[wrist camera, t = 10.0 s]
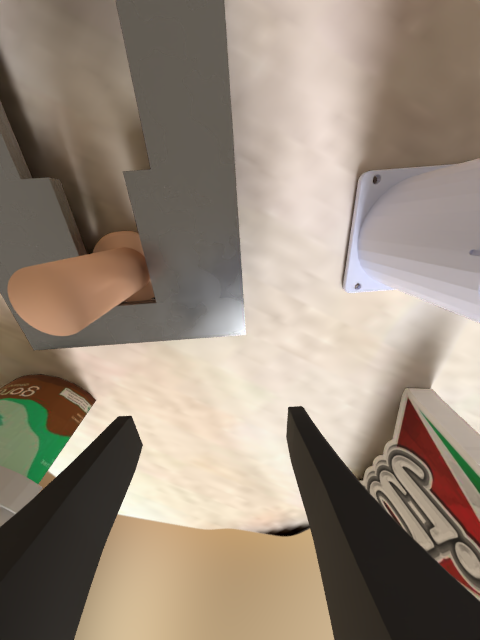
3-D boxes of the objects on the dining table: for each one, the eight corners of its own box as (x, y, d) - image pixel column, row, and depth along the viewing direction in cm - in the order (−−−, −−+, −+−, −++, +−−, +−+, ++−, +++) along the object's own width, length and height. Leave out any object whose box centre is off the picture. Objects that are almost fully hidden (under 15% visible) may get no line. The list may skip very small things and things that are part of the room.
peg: (162, 230, 15) (92, 236, 7) (173, 297, 17) (127, 353, 9) (91, 231, 14) (-52, 238, 7) (111, 299, 17) (15, 356, 9)
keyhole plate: (220, -45, 10) (215, -128, 7) (244, 320, 18) (245, 334, 15) (-117, -17, 10) (-223, -91, 7) (59, 334, 18) (34, 350, 15)
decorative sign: (352, 486, 33) (426, 669, 20) (336, 486, 33) (400, 670, 20) (431, 386, 22) (724, 667, 9) (406, 385, 21) (667, 669, 8)
